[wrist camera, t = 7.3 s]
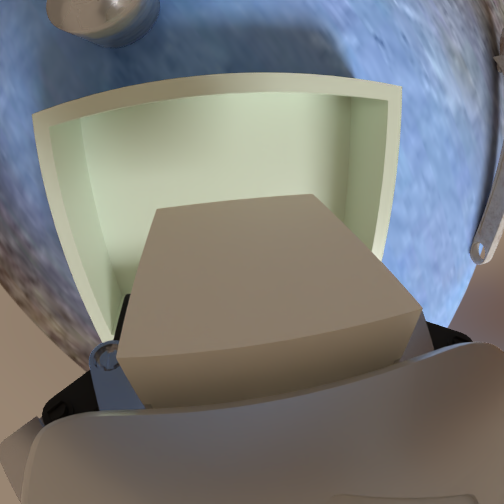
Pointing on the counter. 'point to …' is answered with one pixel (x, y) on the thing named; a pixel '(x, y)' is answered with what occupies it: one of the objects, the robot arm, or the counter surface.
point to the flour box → (257, 304)
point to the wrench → (492, 200)
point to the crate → (209, 162)
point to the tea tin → (104, 19)
